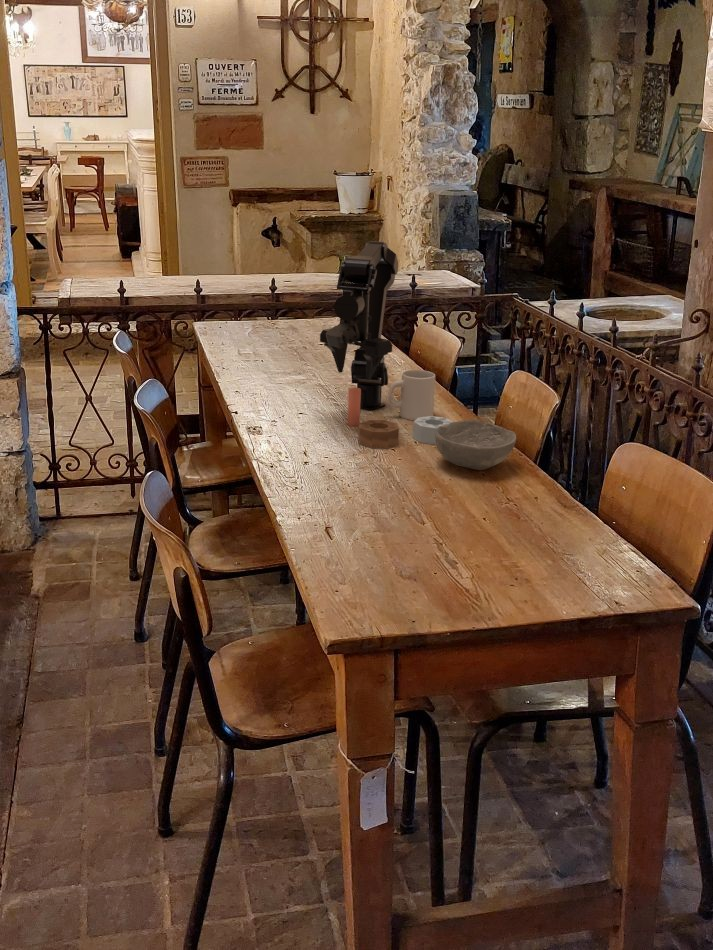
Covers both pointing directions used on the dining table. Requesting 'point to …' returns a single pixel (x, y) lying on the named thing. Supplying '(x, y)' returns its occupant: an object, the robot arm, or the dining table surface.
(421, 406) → the mug
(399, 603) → the dining table surface
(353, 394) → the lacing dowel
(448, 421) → the slate bead
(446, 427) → the bowl
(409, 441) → the dining table surface
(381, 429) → the walnut bead
